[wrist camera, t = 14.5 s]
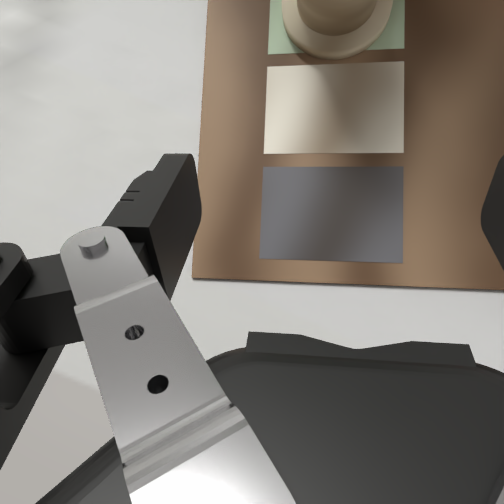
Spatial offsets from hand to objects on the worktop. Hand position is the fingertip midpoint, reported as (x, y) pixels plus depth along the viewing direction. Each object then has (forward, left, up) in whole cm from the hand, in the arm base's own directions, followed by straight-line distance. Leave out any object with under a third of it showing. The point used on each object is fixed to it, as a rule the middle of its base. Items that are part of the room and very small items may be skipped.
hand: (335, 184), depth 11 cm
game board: (+3, +9, -9) cm, 13 cm away
